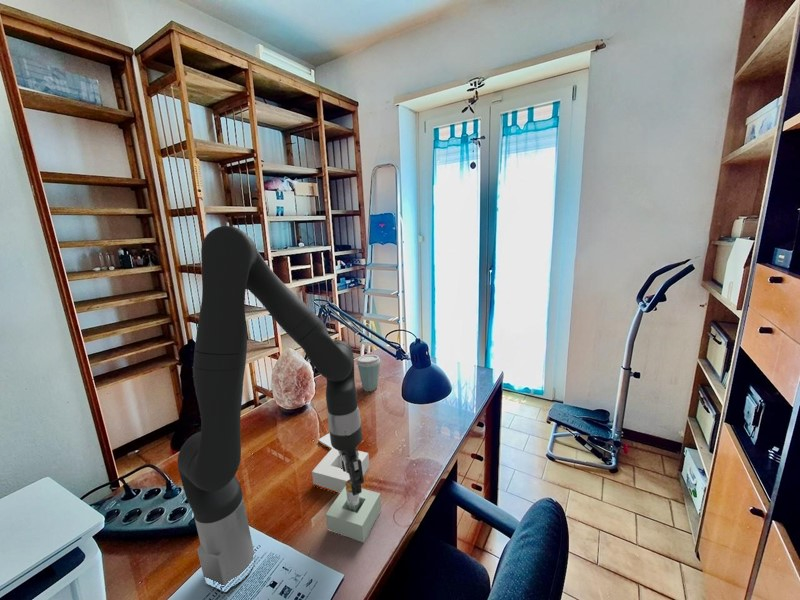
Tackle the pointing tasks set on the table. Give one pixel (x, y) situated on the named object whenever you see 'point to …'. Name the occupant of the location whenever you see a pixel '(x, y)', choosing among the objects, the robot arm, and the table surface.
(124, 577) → the table surface
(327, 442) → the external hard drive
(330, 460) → the dock block
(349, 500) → the steel pin
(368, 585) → the table surface
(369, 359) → the disposable coffee cup
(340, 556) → the table surface
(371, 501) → the block
